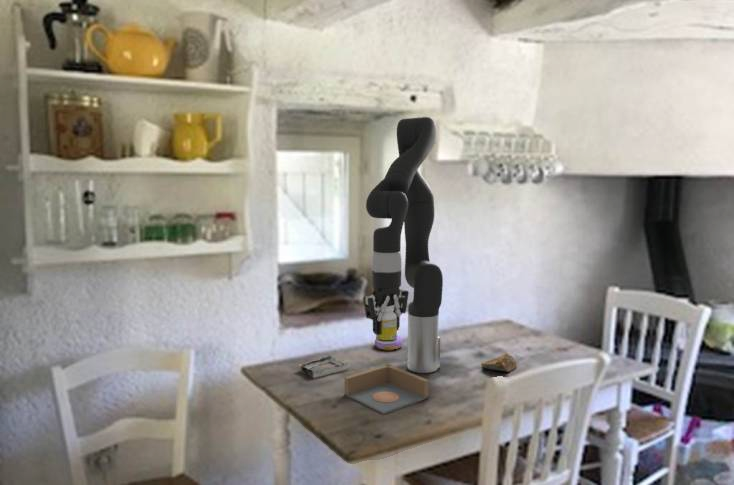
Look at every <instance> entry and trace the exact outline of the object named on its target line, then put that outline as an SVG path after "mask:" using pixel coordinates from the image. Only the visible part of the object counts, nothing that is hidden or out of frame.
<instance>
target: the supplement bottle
mask: <svg viewBox="0 0 734 485" xmlns="http://www.w3.org/2000/svg"><path fill="white" fill-rule="evenodd" d="M378 308H379V309H380V308H381V307H379V306H378ZM393 311H394V305H390V306H386V309H385V312H384V313H383V314H382V318H381V320H380V321H381V335H376V334H375V339H376V341H377V342H379V343H381V344H392V343H395V342H396V341H397V336H398V335H397V334H398V332H397V331H398V330H397V315H396V313H394V312H393ZM377 315H378V313H377Z"/></svg>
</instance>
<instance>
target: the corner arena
mask: <svg viewBox="0 0 734 485" xmlns="http://www.w3.org/2000/svg"><path fill="white" fill-rule="evenodd" d="M429 381H430V380H429V379H427V378H424V377H422V376H420V375H416V374H414V373H412V372H410V371H407V370H404V369H402V368H400V367H396V366H394V365H391V364H389V363H388V364H385V365H381V366H378V367H373V368H372V369H368V370H365V371H360V372H356V373H354V374H351V375H347V376H344V395H345V396H346V397H348V398H350V399H352V400H354V401H355V402H358V403H360V404H362V405H364V406H366V407H368V408H370V409H371V410H374V411H376V412H378V413H380V414H382V415H386V414H389V413H391V412H395V411H397V410H399V409H403V408H405V407H409V406H410V405H413V404H416V403H418V402H422V401H424V400H427V399H429V392H430V390H429V389H430V388H429V387H430V386H429V383H430V382H429Z"/></svg>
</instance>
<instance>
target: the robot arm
mask: <svg viewBox="0 0 734 485" xmlns="http://www.w3.org/2000/svg"><path fill="white" fill-rule="evenodd" d="M437 140H438V128H437V124H436V121H435V120H434V119H433V118H432V117H429V116H421V117H420V116H418V117H409V118H402V119H400V120H399V121H398V123H397V126H396V142H397V150H398V157H397V158H396V159H395V160H393V162H391V165H389V166H390V167H389V168H388V169H387V171H386V174H385V176H384V177H383V179H381V181H380V182H379V183H378V184H377V185H376V186H375V187H373V189H372V190H371V191H370V193H369V194H368V196H367V198H366V201H365V202H366V204H365V208H366V211H367V214H368V215H369V216H370V217H372V218H374V219H375V218H376V219H387V220H388V219H389V220H391V222H390V224H389V225H387V226H383V227H378V228H375V229H374V231H373V237H372V238H373V243H372V244H373V245H372V250H373V251H372V260H371V262H372V266H371V285H372V287H373V292H372V294H371V295H369V296H366V295H365V296H364V297H363V298H362V300H363V306H364V312H365V317H366V319H369V320H372V332H373V334H374V335H375V336H376V335H381V321H380V320H381V318H382V314H383V313H384V312H385V309H386V306H390V305H394V311H393V312H394V313H396V315H397V331H399V329H400V324H401V323H400V321H401V319H400V318H401V316H402V314H405V313H406V311H407V310H408V311H407V312H408V313H407V369H408V370H409V371H411V372H413V373H417V374H418V373H419V374H429V373H433V372H436V371H437V370H438V369H439V368H440V367H441V337H440V336H439V320H440V319H439V315H440V312H439V311H440V307H441V306H442V302H443V301H442V298H443V286H444V285H443V284H444V282H443V281H444V279H443V272H442V269H441V268H440V267H439V266H438V265H437V264H436V263H433V262H431V261H430V255H429V240H430V236H431V232H432V229H433V225H434V221H435V197H434V193H433V190H432V188H431V187H430V185H429V184H428V182H427V181H426V179H425V178H424V176H422V174H421V172H420V171H419V168H420V167H421V165H423V163H424V161H425V160H426V159H427V157H428V155H429V154H430V153H431V152H432V150H433V148H434V147H435V144H436V143H437ZM403 228H404V240H405V259H404V277H405V281H406V283H407V284H408V285H409V286H410V287H411V288H412V289H413V299H412V301H411V302H410V303H409V304H408V300H409V299H408V298H409V291H408V290H406V289H400V288H401V286H402V254H401V248H402V247H401V244H402V243H401V240H402V239H401V238H402V237H401V236H402V231H403ZM379 307H381V308H380V309H379ZM377 313H378V315H377Z"/></svg>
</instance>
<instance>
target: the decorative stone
mask: <svg viewBox="0 0 734 485" xmlns="http://www.w3.org/2000/svg"><path fill="white" fill-rule="evenodd" d="M480 365H481V366H482V367H483V368H484V369H487V370H493V371H500V372H506V373H510V372H511V371H512V372H513V371H514V370H516V369H517V368H516V366H517V362H516V360H515V358H514V357H513V355H511V354H509V353H508V352H504V353H503V354H502V355H500V356H498V357H494V358H491V359H488V360H483V361H482V362H480Z"/></svg>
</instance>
